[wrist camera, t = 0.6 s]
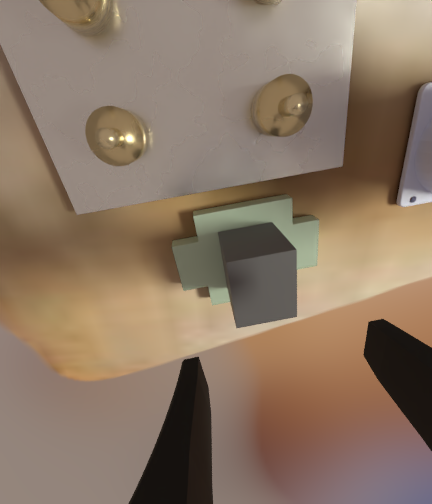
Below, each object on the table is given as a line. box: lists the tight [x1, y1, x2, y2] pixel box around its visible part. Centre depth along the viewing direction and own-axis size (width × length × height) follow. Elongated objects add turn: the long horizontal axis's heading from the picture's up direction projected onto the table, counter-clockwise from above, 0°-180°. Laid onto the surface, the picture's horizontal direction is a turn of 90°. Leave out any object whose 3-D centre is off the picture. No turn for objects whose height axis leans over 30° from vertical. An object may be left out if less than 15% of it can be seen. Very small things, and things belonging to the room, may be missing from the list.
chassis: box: [0, 0, 357, 215], centre depth 12 cm, size 18×14×4 cm
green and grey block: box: [172, 194, 319, 328], centre depth 17 cm, size 11×8×6 cm
